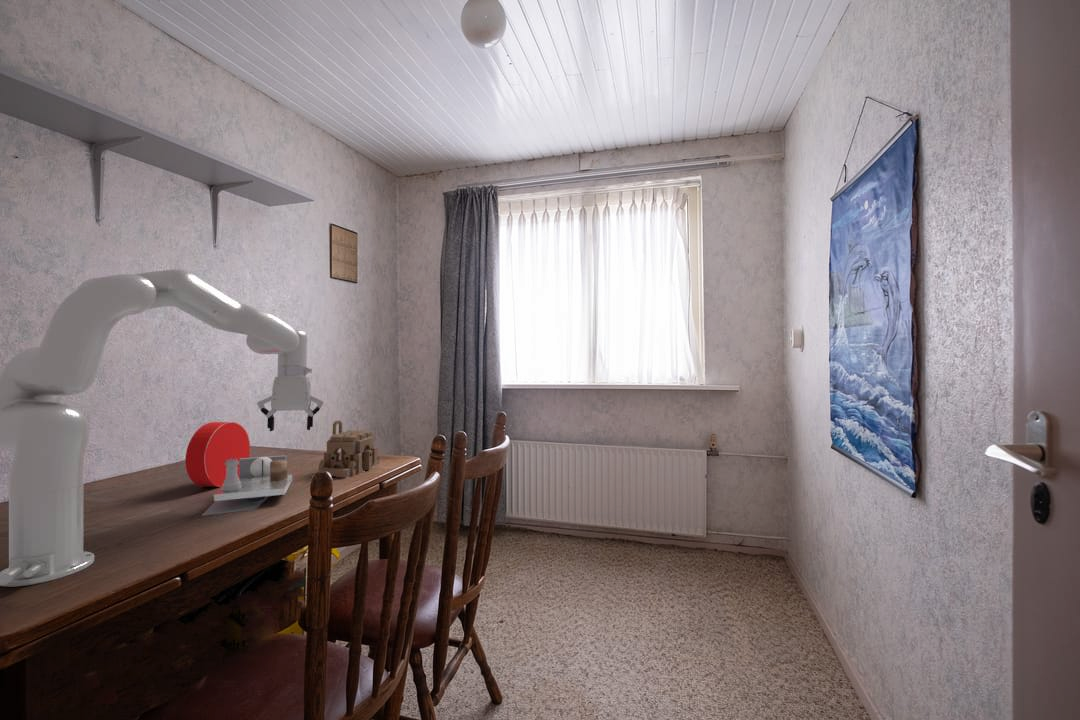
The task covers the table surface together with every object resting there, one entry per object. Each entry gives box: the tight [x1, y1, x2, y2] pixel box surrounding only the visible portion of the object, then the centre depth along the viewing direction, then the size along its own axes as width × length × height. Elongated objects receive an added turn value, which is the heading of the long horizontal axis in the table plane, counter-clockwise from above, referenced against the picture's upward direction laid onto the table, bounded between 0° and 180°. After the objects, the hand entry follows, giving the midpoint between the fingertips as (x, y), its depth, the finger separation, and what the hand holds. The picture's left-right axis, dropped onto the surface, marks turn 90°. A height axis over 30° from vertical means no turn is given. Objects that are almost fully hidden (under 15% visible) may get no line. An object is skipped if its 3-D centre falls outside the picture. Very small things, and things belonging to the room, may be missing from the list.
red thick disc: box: [185, 421, 251, 488], centre depth 145 cm, size 20×6×20 cm, turn 178°
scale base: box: [201, 455, 287, 517], centre depth 129 cm, size 21×20×11 cm
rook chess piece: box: [221, 459, 242, 492], centre depth 123 cm, size 4×4×8 cm
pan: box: [213, 474, 293, 502], centre depth 128 cm, size 16×16×4 cm
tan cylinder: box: [270, 459, 289, 481], centre depth 134 cm, size 4×4×5 cm
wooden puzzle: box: [318, 420, 380, 479], centre depth 160 cm, size 22×15×19 cm, turn 172°
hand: (290, 430), depth 136 cm, fingers open, 9 cm apart
